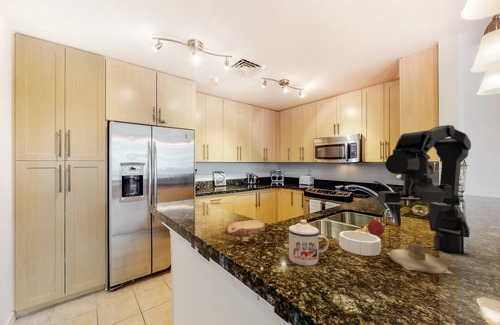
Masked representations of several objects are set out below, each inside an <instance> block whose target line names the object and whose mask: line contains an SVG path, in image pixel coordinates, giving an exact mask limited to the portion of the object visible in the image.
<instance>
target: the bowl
mask: <svg viewBox="0 0 500 325" xmlns="http://www.w3.org/2000/svg"><path fill="white" fill-rule="evenodd" d="M338 245H339V247H340V248H341V249H342V250H344V251H346V252H348V253H350V254H355V255H358V256H368V257H369V256H370V257H374V256H378V255H380V254H381V252H382V239H381V238H380V236H379V237H377V236H375V235H372V234H370V233H369V232H363V231H357V230H343V231H340V232H339V233H338Z"/></svg>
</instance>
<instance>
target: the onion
mask: <svg viewBox="0 0 500 325" xmlns="http://www.w3.org/2000/svg"><path fill="white" fill-rule="evenodd" d="M366 227H367V228H366V229H367V231H368V233H369V234H372V235H375V236H377V237H379V238H380V237H382V236H383V234H384V232H385V228H384V225H383V223H382V222H381V221H379V220H378V219H377V217H374V218H373V220H371V221H369V222H368V224H367V226H366Z"/></svg>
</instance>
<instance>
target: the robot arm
mask: <svg viewBox="0 0 500 325" xmlns="http://www.w3.org/2000/svg"><path fill="white" fill-rule="evenodd" d="M432 148H434V149H435V151H436V155H437V157H438V158H439V159H440V161H441V170H440V181H439V185H437V184H436V185H435V184H433V179H432V177H429V160H430V159H431V156H430V155H429V154H427V153H428V152H429V151H430V150H431V149H432ZM471 148H472V141H471V140H470V138H469V136H468V134H466V133H465V132H462V131H460V130H458V129H456V128H455V126H454V125H450V124H448V125H439V126H434V127H432V128H430V129H427V130H421V131H414V132H407V133H405V132H404V133H401V135H400V136H399V138H398V140H397V142H396V145H395V147H394V148H393V150H392V154H391V155H390V154H389V156H388V157H387V159H386V161H385V168H386V170H387V171H388V172H389V173H391V174H394V175H403V176H401V181H403V190H401V193H399V192H396V191H391V190H389V191H388V190H387V191H385V190H382V191H381V190H380V191H379V192H378V193H377V200H378V201H380V202H382V204H385V205H386V207H387V209H388V210H389V212H390V213H391V215H392V217H393V220H394V222H395V224H396V226H397V227H399V228H400V227H401V226H402V220H401V219H402V216H401V208H402V206H403V204H401V203H400V202H401V201H406V202H407V201H409V202H410V201H411V202H422V203H426V204H429V215H428V224H429V229H430V231H432V232H435V234H434V236H433V240H434V242H433V243H434V245H432V247H433V248H435V249H437V250H438V251H440V252H443V253H445V254H450V255H463V256H464V255H466V256H469V253H466V252H465V241H464V240H465V238H470V237H471V236H470V234H471V233H470V232H471V231H470V230H471V229H470V227H469V225H468V223H467V221H466V219H465V218H464V217H465V213H464V212H463V211H462V209H461V208H460V205H461V198H460V197H459V188H460V178H461V175H460V173H461V163H462V162H464V161H465V159H467V157H469V151H470V150H471Z"/></svg>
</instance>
